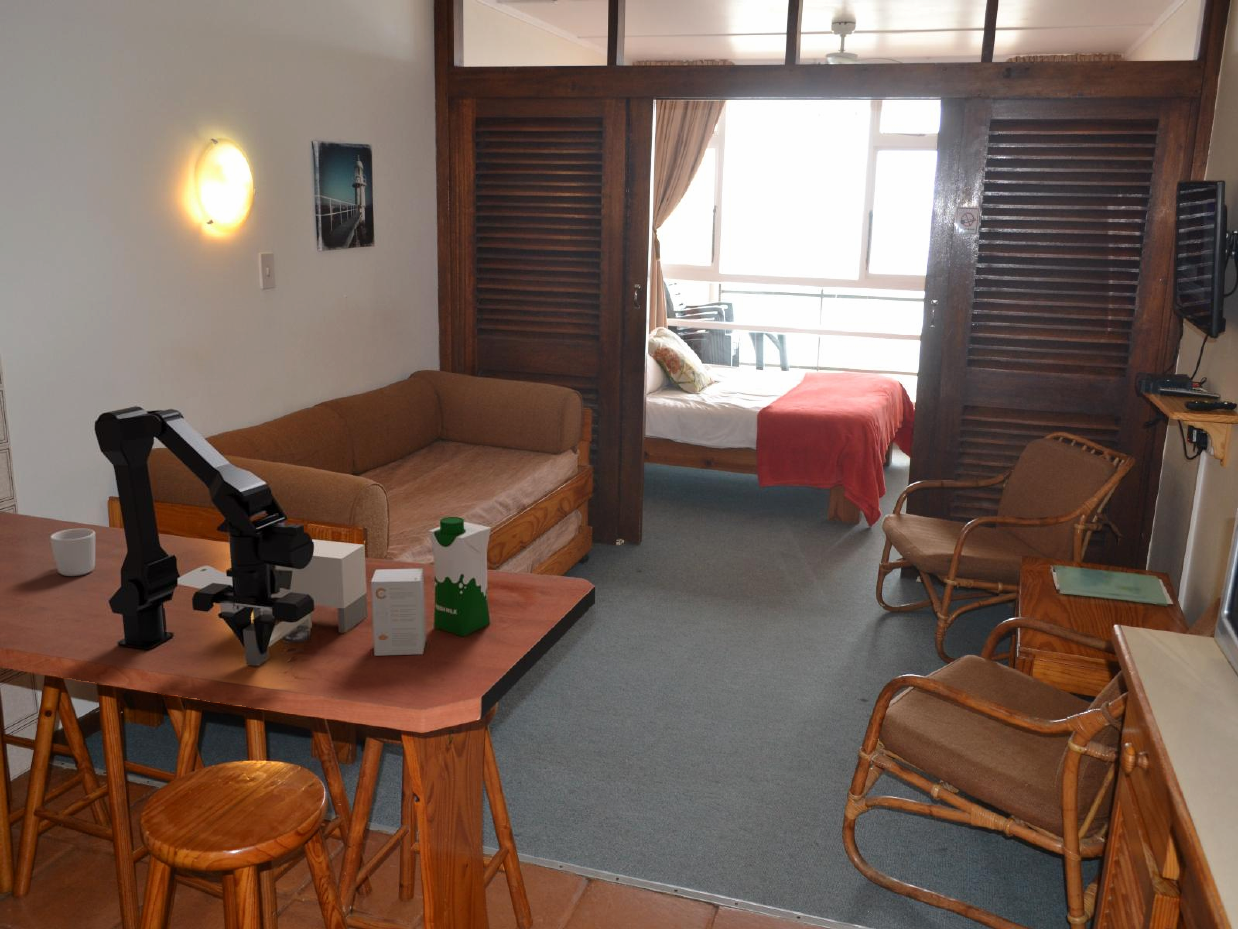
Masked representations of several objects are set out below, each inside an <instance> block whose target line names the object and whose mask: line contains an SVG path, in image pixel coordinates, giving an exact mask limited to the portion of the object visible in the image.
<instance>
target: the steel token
mask: <svg viewBox="0 0 1238 929" xmlns="http://www.w3.org/2000/svg"><path fill="white" fill-rule="evenodd" d="M310 638H311V628H309V627H307V626H297V627H296V628H294V629H293V630H292V631H290V632H289V633H287V634H286V635H285V636H283V637H282V640H283V642H286V643H290V644H291V643H292V644H298V643H303V642H305V641H308V640H309V639H310Z"/></svg>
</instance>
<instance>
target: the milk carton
mask: <svg viewBox="0 0 1238 929" xmlns="http://www.w3.org/2000/svg"><path fill="white" fill-rule="evenodd" d="M491 529H492V527H490V526H485V525H481V524H476V523H472V522H467V521H465V520H464V518H462V517H458V516H447V517H443V518H441V519H440V520H439V526H438V527H435V528H432V529H430V530H428V535H429V539H430V543H431V546H432V552H433V577H434V579H433V583H434V614H433V615H434V616H433V617H434V618H433V628H434V629H437V630H441V631H445V632H448V633H451V634H454V635H459V636H462V637H466V636H469V635H470V634H472V633H474V632H476V631H478V630H480V629H482V628H484V627H486V626H488V625H490V624H491V619H490V618H491V617H490V610H489V609H490V608H489V602H488V600H489V599H488V563H487V562H488V559H487V556H488V553H487V552H488V547H489V540H490V535H491Z"/></svg>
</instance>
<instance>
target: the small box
mask: <svg viewBox="0 0 1238 929" xmlns="http://www.w3.org/2000/svg"><path fill="white" fill-rule="evenodd" d="M424 581H425V580H424V568H396V569H395V568H392V569H390V568H387V569H375V571H374V573H373V575H372V578H371V580H370V592H371V595H370V596H371V597H370V598H371V613H372V614H371V615H372V616H371V617H372V637H373V652H374V653H373V654H374V656H375V657H376V656H378V657H379V656H403V655H406V656H407V655H409V656H411V655H423V654H424V650H425V646H426V641H427V630H426V628H427V627H426V607H425V606H426V605H425V604H426V603H425V582H424Z"/></svg>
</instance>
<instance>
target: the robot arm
mask: <svg viewBox="0 0 1238 929" xmlns="http://www.w3.org/2000/svg"><path fill="white" fill-rule="evenodd" d="M94 433H95V437H96V440H97V443H98V446H99V450H100V452H101V453H102V454H103V455H104V457H105V458H106V459H107V460H108V461H109V463H111V465H112V467H113V471H114V475H115V482H116V487H117V488H116V489H117V494H118V502H119V507H120V512H121V518H122V525H123V531H124V537H125V543H126V550H127V551H126V554H125V557H124V560H123V563H122V565H121V568H120V586H119V588H118V589H117V590H116V592H115V593H114V594H113V595H112V596H111V597H110V599H109V600H108V604H109V607H110V610H111V612H112V614H116V615H121V616H122V626H123V635H124V638H122V639H120V640H118V641H117V642H116V643H117V646H119V647H127V648H135V649H141V650H151V649H154V648H156V647H157V646H158V645H161V644H162V643H163V642H165V641H167V640H169V639H170V638H173V637H174V636H175V633H174V632H172V631H167V620H166V619H167V618H166V617H167V616H166V610H165V607H164V604H165V603H166V602H170V601H172V600H173V596H174V591H175V589H176V588H177V587H178V585H179V584H178V578H179V577H181V575H180V573H179V569H178V565H177V564H178V563H177V562H178V561H177V560H178V559H177V557H176V555H175V554H168V552H166V550H165V549H164V548H163V547H162V545H161V541H160V536H159V529H158V524H157V518H156V511H155V510H156V509H155V503H154V498H153V491H152V486H151V479H150V472H149V466H148V465H149V464H148V459H149V457H150V454H151V452H152V449H153V447H154V445H155V439H157V440H158V441H159V442H160V443H161V444H162V445H163V446H164V447H165V448H167V450H169V451H170V453H172V454H173V455H174V456H175V457H176V458H177V459H178V460H179V461H180V462H181V463H182V464H183V465H184V466H185V467H187V469H188V470H190V472H191V473H193V475H195V477H196V478H198V479H199V480H200V481H201V482H202V483H203V484H204V485H205V486H206V487H207V489H208V492H209V496H210V501H211V503H212V504H213V505H214V507H215V508H216V509H217V510H218V512H219V513H220V514H221V516H222V517H223V518H224V520H223V521H222V522H221V523H220V524H219V525H218V526H217V527H216V531H217V532H219V533H220V532H221V533H227V534H228V542H229V544H228V545H229V555H230V566H231V567H229V568H228V569H226V570H225V571H226V572H225V573H226V576H228V577H232V585H233V587H232V586H231V585H227V584H218V583H212V584H210V585H208V586H206V587H204V588H202V589H198V590H196V591H195V592H194V594H193V595H192V597H191V606H192V610H193V611H199V612H206V613H208V612H209V611H211V610H212V609H213V608H214V604H218V605H219V606H220V613H218V614H217V616H218V618H219V619H223V621H224V623H226V625H227V626H228V627H229V629H230V630H231V631H232V632H233V634H234V635H235V637H236V638H237V640H238V641H239V643H240V644H241V646H242V647H243V649H244V650H245V647H244V636H243V629H245V628H246V627H248V626H249V625H251V624H252V623H253V624H254V629H255V634H256V639H257V644H258V648H259V651H260V654H264V653H266V651H267V648H268V649H269V647H268V645H269V642H270V639H271V635H272V632H273V629H274V627H275V626H276V625H277V623H278V622H290V623H293V622H297V621H299V620H300V619H302V618H303V617H305V616H306V615H308V614H309V613H311V614H312V613H313V612H314V611H315V605H314V600H313V598H312V597H311V596H310V595H309V594H301V593H293V592H290V593H288V594H287V595H285V596H283V597H282V598H278V597H274V598H271V597H272V594H277V593H279V592H280V588H284V589H287V590H290V587H291V580H292V572H293V571H291V570H283V569H276V566H282V567H288V568H295V569H303V568H305V567H306V566H307V565H308V564H309V563H310V561H311V559H312V556H313V552H314V542H312V539H313V538H312V536H311V535H310V534H309V533H307V532H306V531H305V527H304V524H301V523H287V521H288V516H287V515H286V513H285V511H284V510H283V508H282V506H280V504H279V503H278V501H277V499H276V498H275V496H274V495H273V494H272V493H273V492H272V489H271V487H270V486H269V485H268V484H267V482H266V481H264V480H263V479H261V478H259V477H258V476H256V475H255V474H254V473H252V472H251V471H248V470H246V469H243V468H239V467H237V466H235V465H234V464H232V463H230V462H229V461H228V460H227V459H226V458H225V457H224V456H223V455H222V454H221V453H220V452H219V451H218V450H217V449H216V448H215V447H213V445H212V444H210V443H209V442H208V440H206V439H205V438H204V437H203V436H202V435H201V434H200V433H199V432H198V431H196V429H194V427H192V426H191V425H190V424H189V423H188V422H187V421H186V420H185V418H184V415H183V414H182V413H181V412H180V410H178V409H174V408H170V409H165V410H163V409H157V410H146V409H144V408H142V407H141V406H138V405H136V406H131V407H125V408H122V409H116V410H112V411H107V412H103V413H101V414H100V415H99V416H98V418H97V419H96V420H95V421H94ZM263 514H266V515H264V516H262V517H259V518H256V519H254V520H252V519H253V518H255V517H258V516H261V515H263ZM275 565H276V566H275ZM253 608H258V609H260V610H261V612H260V613H261V615H260V616H258V617H256V618H255V619H254V618H253V619H252V614H253Z"/></svg>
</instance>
